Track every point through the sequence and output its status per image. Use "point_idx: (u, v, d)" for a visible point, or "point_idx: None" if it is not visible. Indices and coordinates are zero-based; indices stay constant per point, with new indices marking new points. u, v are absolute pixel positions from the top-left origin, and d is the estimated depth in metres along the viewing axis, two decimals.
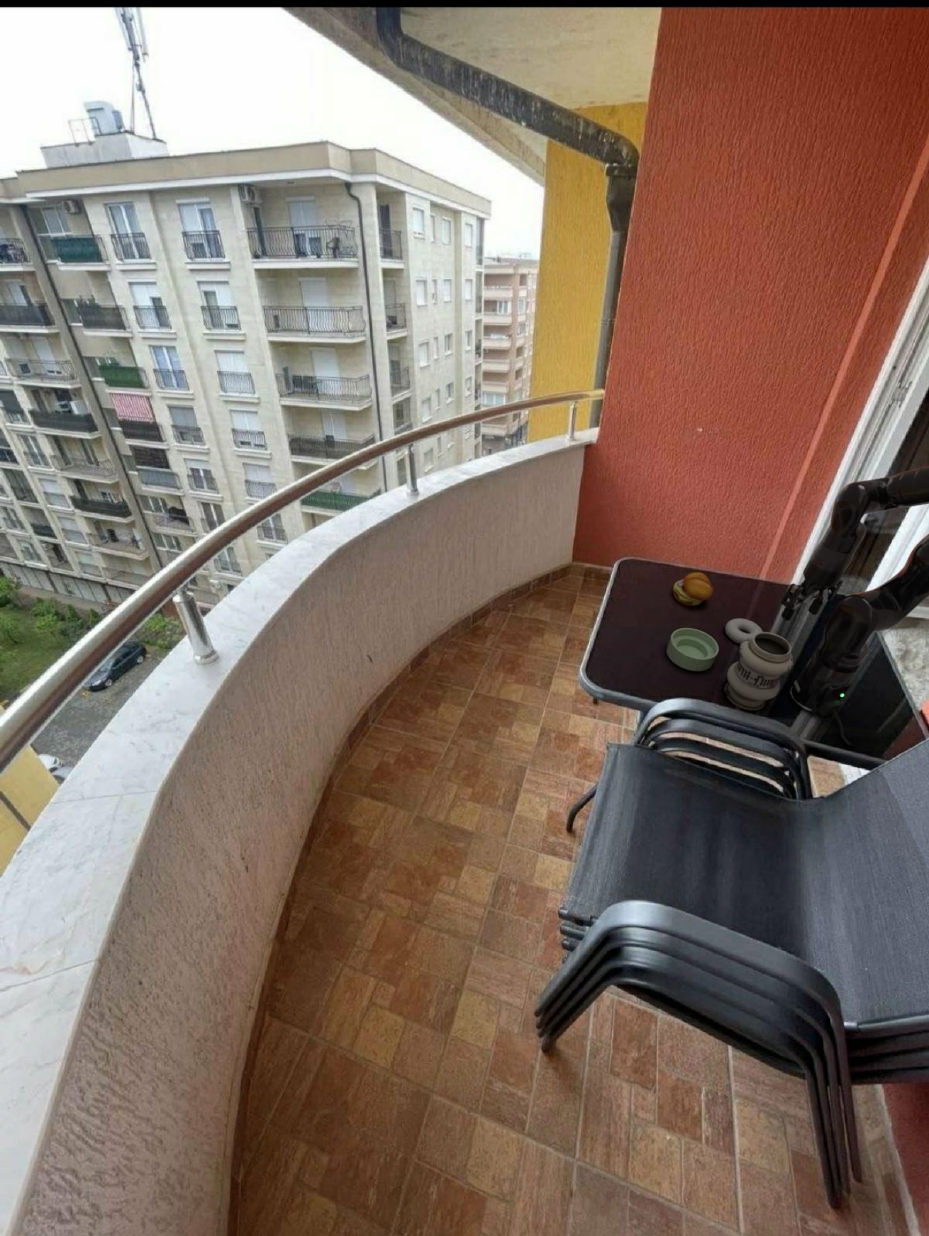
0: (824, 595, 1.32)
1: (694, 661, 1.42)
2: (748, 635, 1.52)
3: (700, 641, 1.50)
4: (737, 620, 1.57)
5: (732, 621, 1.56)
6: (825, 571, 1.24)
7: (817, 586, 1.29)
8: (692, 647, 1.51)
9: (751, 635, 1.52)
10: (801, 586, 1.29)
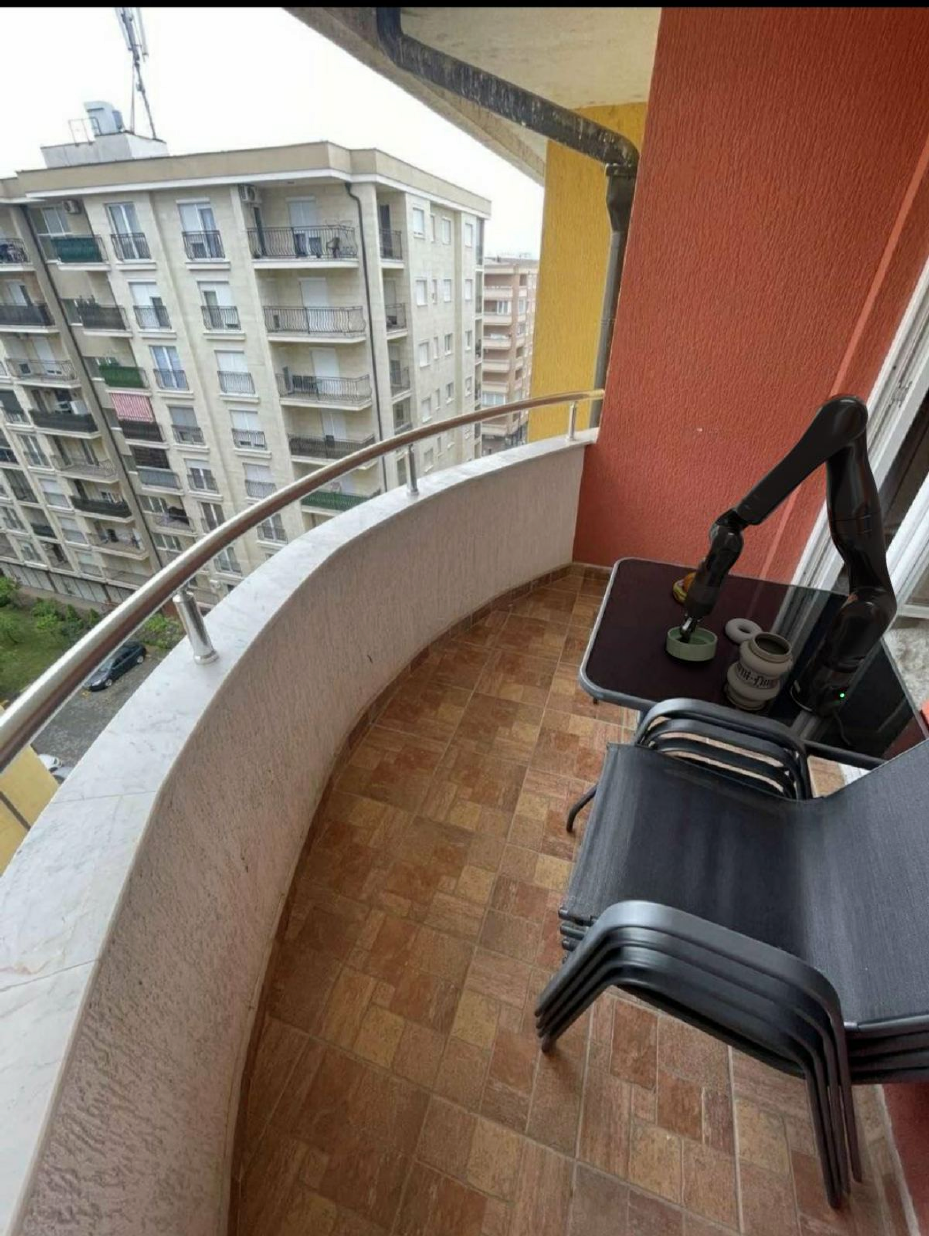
0: (699, 622, 1.45)
1: (694, 649, 1.41)
2: (748, 635, 1.52)
3: (699, 637, 1.50)
4: (737, 620, 1.57)
5: (732, 621, 1.56)
6: (706, 604, 1.37)
7: (698, 615, 1.42)
8: (692, 645, 1.51)
9: (751, 635, 1.52)
10: (687, 624, 1.41)
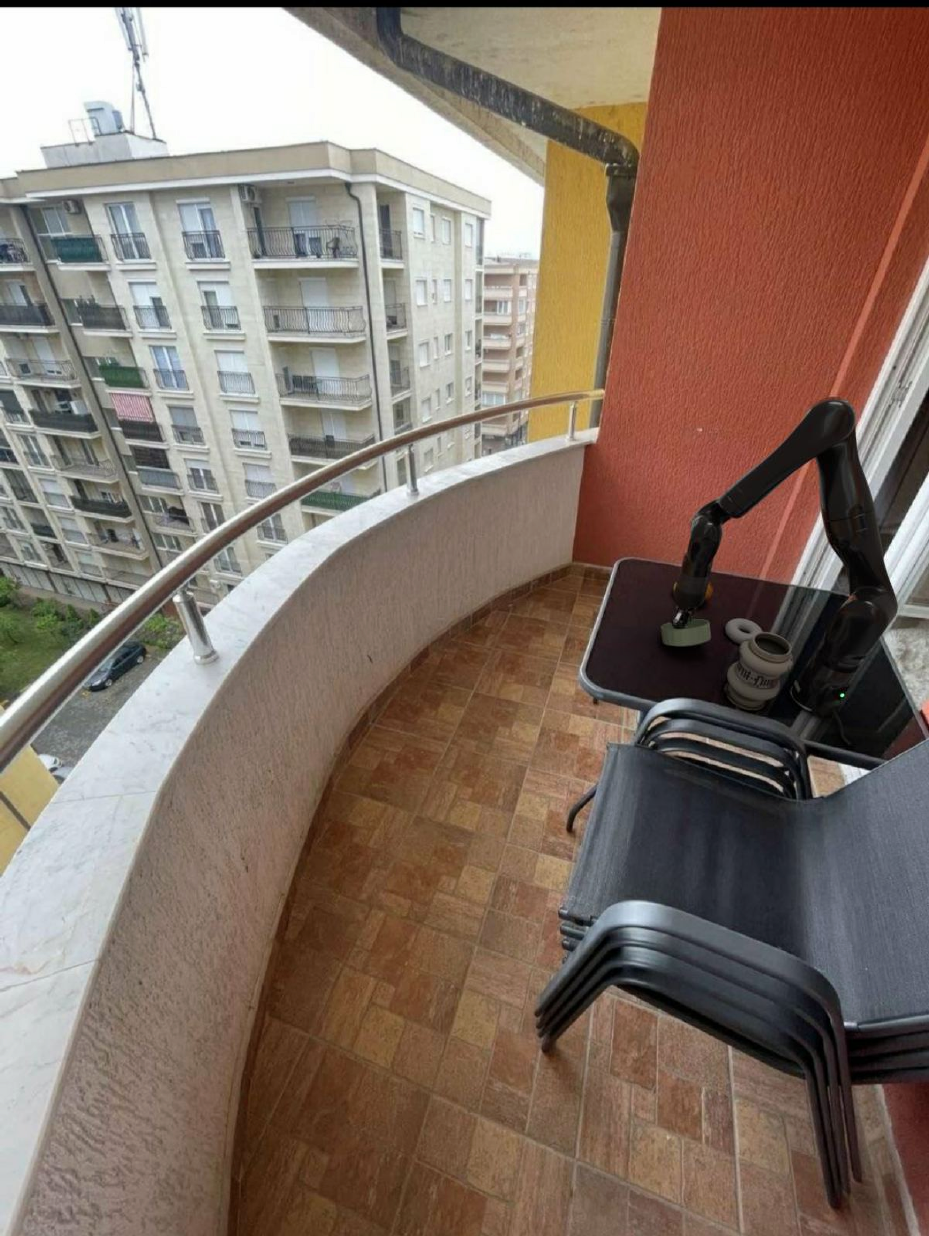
0: (692, 614, 1.47)
1: (686, 632, 1.43)
2: (748, 635, 1.52)
3: (693, 628, 1.52)
4: (737, 620, 1.57)
5: (732, 621, 1.56)
6: (694, 595, 1.39)
7: (689, 607, 1.44)
8: None
9: (751, 635, 1.52)
10: (678, 616, 1.43)
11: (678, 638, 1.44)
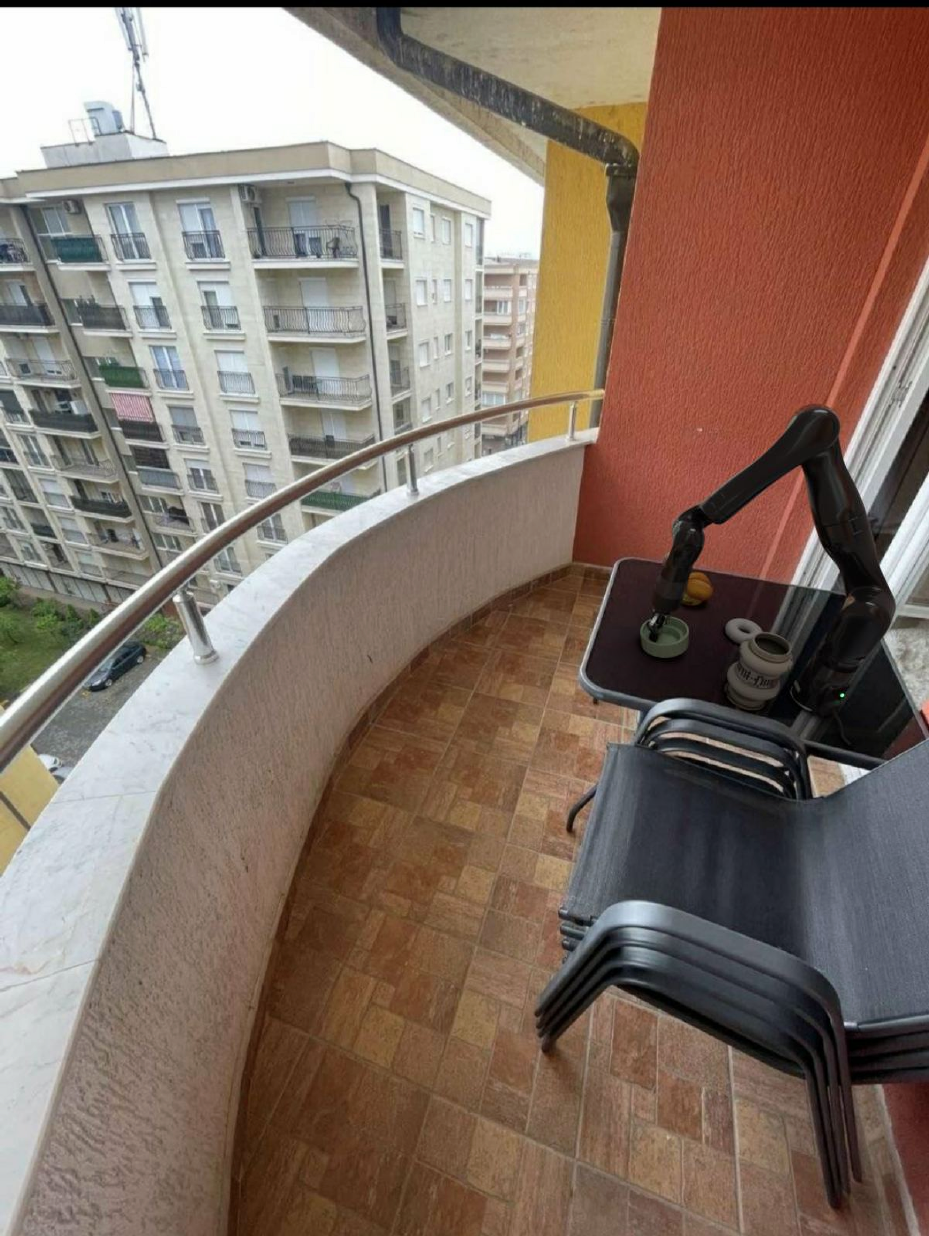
0: (668, 618, 1.46)
1: (665, 648, 1.44)
2: (748, 635, 1.52)
3: (672, 626, 1.51)
4: (737, 620, 1.57)
5: (732, 621, 1.56)
6: (671, 600, 1.38)
7: None
8: (667, 634, 1.52)
9: (751, 635, 1.52)
10: (654, 620, 1.42)
11: (657, 651, 1.45)
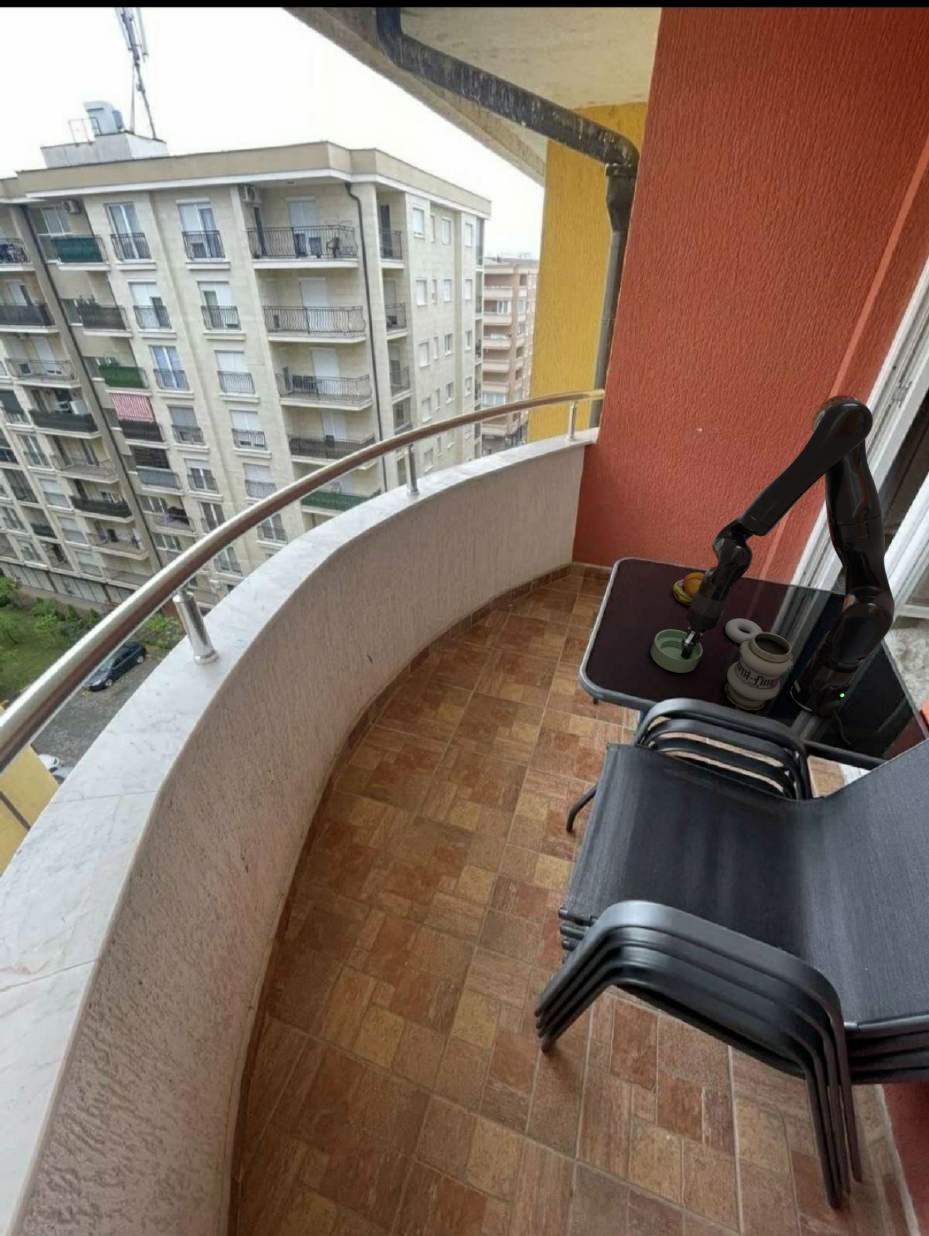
0: (702, 636, 1.41)
1: (688, 663, 1.41)
2: (748, 635, 1.52)
3: (677, 639, 1.50)
4: (737, 620, 1.57)
5: (732, 621, 1.56)
6: (710, 618, 1.33)
7: None
8: (670, 647, 1.51)
9: (751, 635, 1.52)
10: (690, 638, 1.37)
11: (679, 667, 1.42)
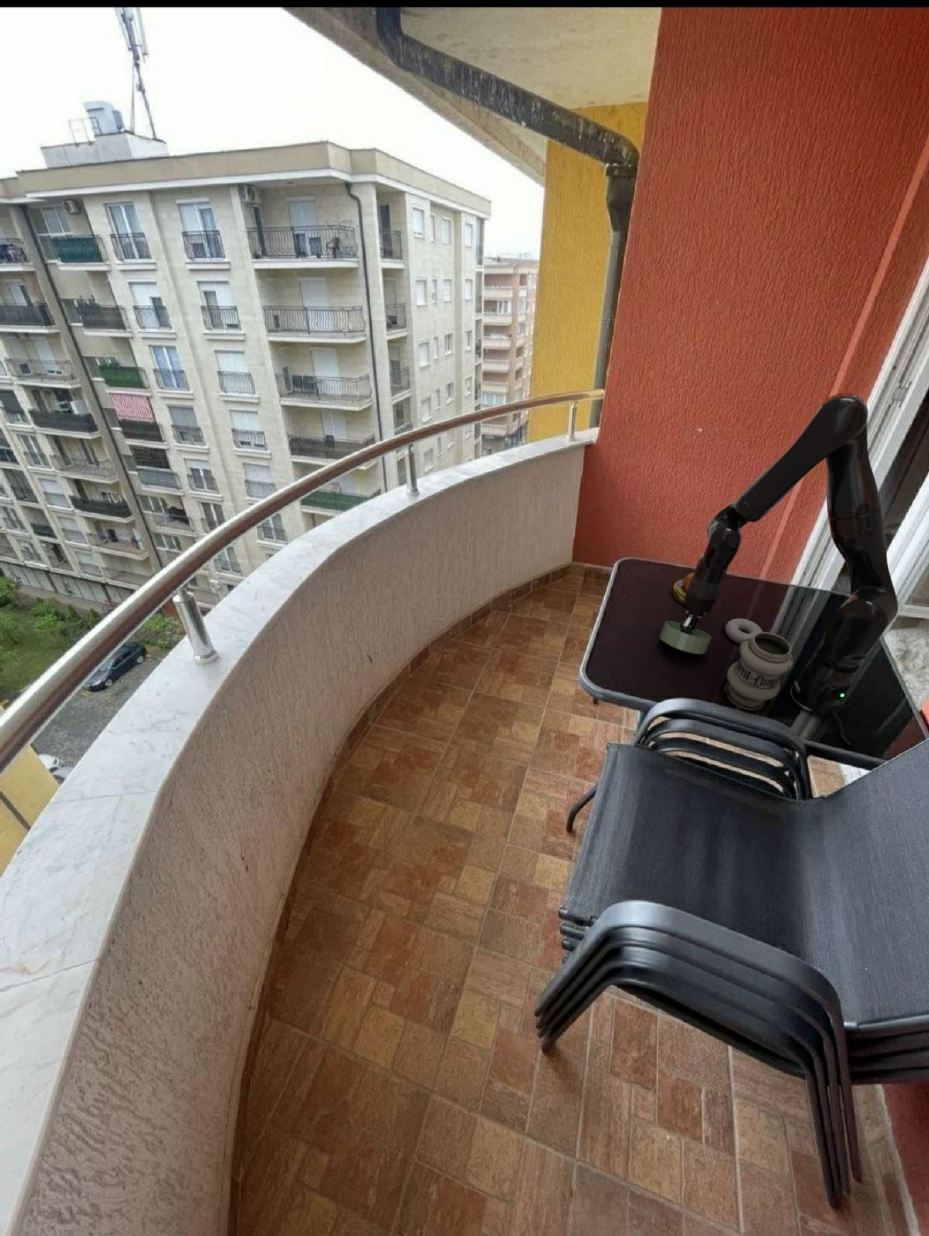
0: (701, 619, 1.46)
1: (704, 642, 1.43)
2: (748, 635, 1.52)
3: None
4: (737, 620, 1.57)
5: (732, 621, 1.56)
6: (706, 600, 1.38)
7: (699, 612, 1.43)
8: None
9: (751, 635, 1.52)
10: (688, 621, 1.42)
11: (696, 646, 1.42)
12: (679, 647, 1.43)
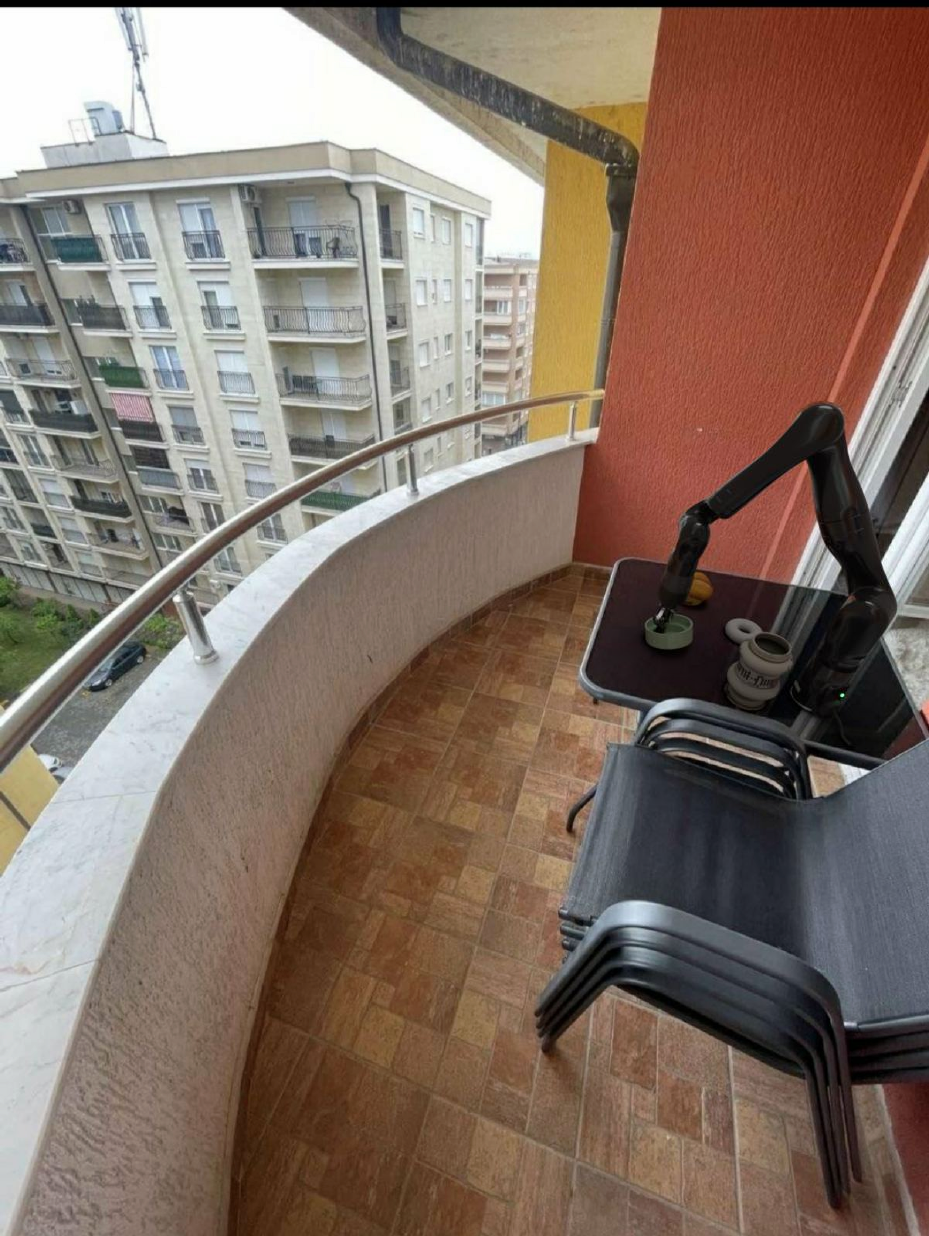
0: (674, 612, 1.48)
1: (685, 634, 1.45)
2: (748, 635, 1.52)
3: None
4: (737, 620, 1.57)
5: (732, 621, 1.56)
6: (678, 594, 1.40)
7: (672, 605, 1.45)
8: None
9: (751, 635, 1.52)
10: (660, 614, 1.44)
11: (678, 641, 1.45)
12: (663, 647, 1.47)
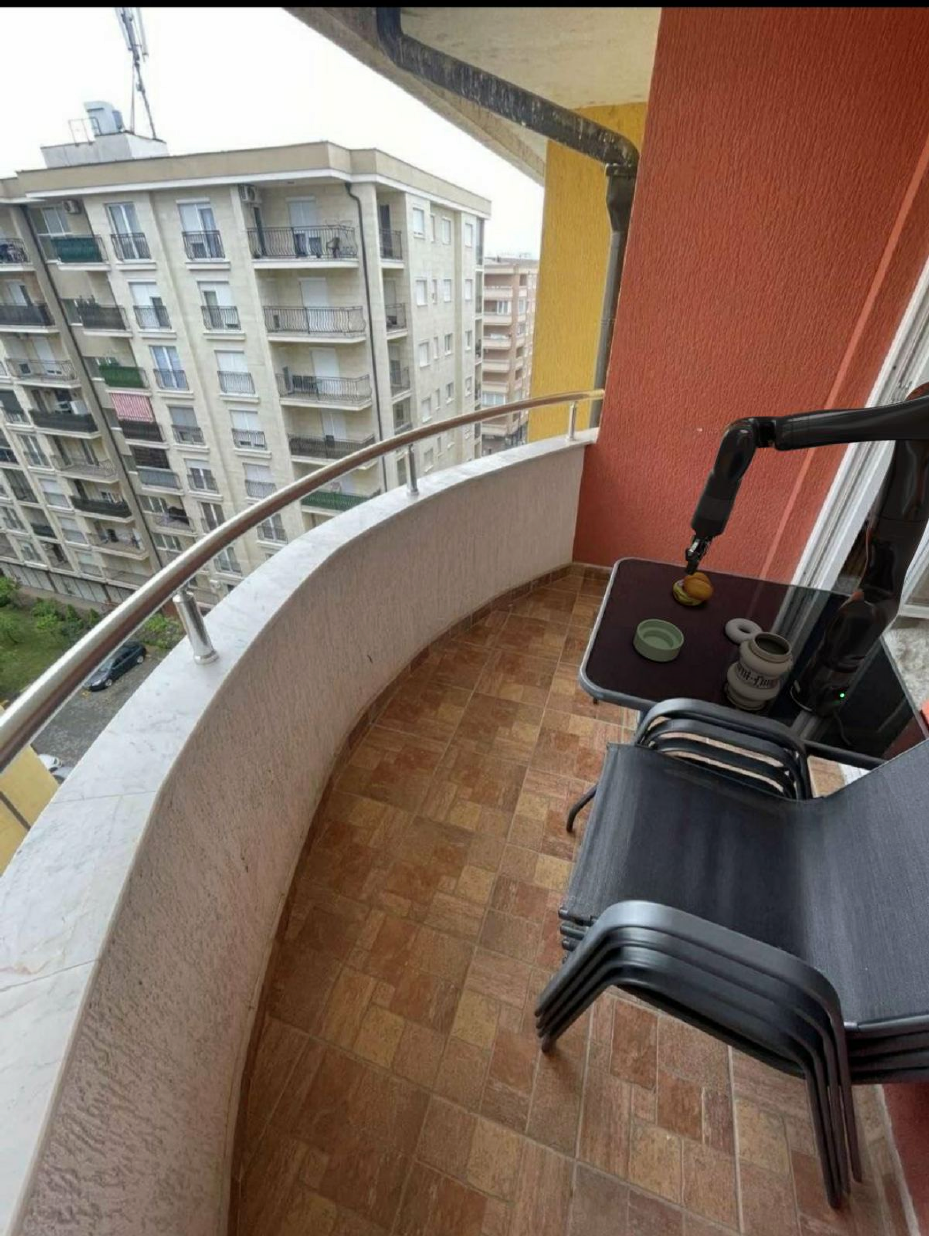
0: (708, 546, 1.30)
1: (678, 649, 1.45)
2: (748, 635, 1.52)
3: (651, 628, 1.53)
4: (737, 620, 1.57)
5: (732, 621, 1.56)
6: (716, 521, 1.22)
7: (707, 537, 1.27)
8: (647, 637, 1.53)
9: (751, 635, 1.52)
10: (694, 546, 1.26)
11: (671, 655, 1.45)
12: (655, 659, 1.46)
